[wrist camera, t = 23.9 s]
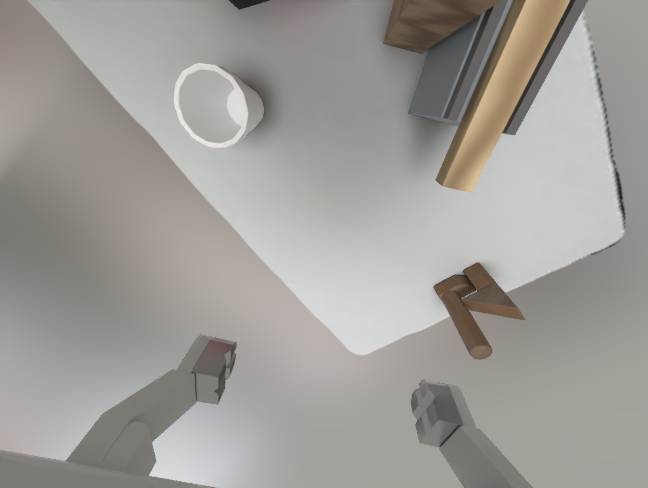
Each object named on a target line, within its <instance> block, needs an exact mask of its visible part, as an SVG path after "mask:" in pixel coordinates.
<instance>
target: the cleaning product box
mask: <svg viewBox="0 0 648 488" xmlns="http://www.w3.org/2000/svg"><path fill="white" fill-rule="evenodd" d="M229 1H230V2H231V3H233V4H234V5H235V6H236V7H237V8H238V9H239V10H240V9H243V8H246V7H249V6H253V5H256V4H259V3H262V2H266V1H269V0H229Z"/></svg>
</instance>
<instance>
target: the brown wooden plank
mask: <svg viewBox="0 0 648 488" xmlns="http://www.w3.org/2000/svg"><path fill="white" fill-rule="evenodd" d="M500 1H501V0H395V1H394V4H393V8H392V12H391V16H390V20H389V23H388V27H387V31H386V35H385V39H384V43H383V44H387V45H391V46H394V47H398V48H402V49H406V50H410V51H414V52H418V53H421V54H422V53H423V52H425V51H426V50H428V49H429V48H431V47H432V46H434V45H435V44H437V43H438V42H440V41H441V40H443V39H444V38H446V37H447V36H449V35H450V34H452V33H453V32H455V31H456V30H458V29H459V28H461V27H462V26H464V25H465V24H467V23H468V22H470V21H471V20H473V19H474V18H476V17H477V16H479V15H480V14H482V13H483V12H485V11H486V10H488V9H489V8H491V7H492V6H494V5H495V4H497V3H498V2H500Z"/></svg>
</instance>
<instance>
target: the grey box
mask: <svg viewBox="0 0 648 488" xmlns="http://www.w3.org/2000/svg"><path fill="white" fill-rule="evenodd" d="M587 1H588V0H570V2H569V4H568V6H567V8H566V10H565V12H564V14H563V16H562V17H561V19H560V21H559V23H558V25H557V27H556V29H555V31H554V33H553V35H552V37H551V39H550V41H549V43H548V45H547V47H546V49H545V50H544V52H543V54H542V56H541V58H540V60H539V62H538V64H537V66H536V68H535V70H534V72H533V74H532V76H531V78H530V80H529V82H528V83H527V85H526V87H525V89H524V91H523V93H522V95H521V97H520V99H519V101H518V103H517V105H516V107H515V109H514V111H513V113H512V115H511V116H510V118H509V120H508V122H507V124H506V126H505V128H504V130H503V132H502V133H504V134H510V135H515V134H516V132H517V130H518V128H519V127H520V125H521V123H522V121H523V119H524V117H525V116H526V114H527V112H528V110H529V108H530V106H531V104H532V103H533V101H534V99H535V97H536V95H537V93H538V92H539V90H540V88H541V86H542V84H543V82H544V81H545V79H546V77H547V75H548V73H549V71H550V69H551V68H552V66H553V64H554V62H555V60H556V58H557V57H558V55H559V53H560V51H561V49H562V47H563V46H564V44H565V42H566V40H567V38H568V36H569V34H570V33H571V31H572V29H573V27H574V25H575V23H576V22H577V20H578V18H579V16H580V14H581V12H582V11H583V9H584V7H585V5H586V3H587ZM512 2H513V0H501V1H500V2H498V3H497V4H495V5H494V6H492V7H491V8H489V9H488V10H486V11H485V12H483V13H482V14H480V15H479V16H477V17H476V18H474V19H473V20H471V21H470V22H468V23H467V24H465V25H464V26H462V27H461V28H459V29H458V30H456V31H455V32H453V33H452V34H450V35H449V36H447V37H446V38H444V39H443V40H441V41H440V42H438V43H437V44H435V45H434V46H432V47H431V48H430V51H429V54H428V57H427V60H426V63H425V66H424V68H423V71H422V74H421V77H420V80H419V83H418V86H417V89H416V92H415V95H414V98H413V101H412V104H411V107H410V110H409V113H408V114H412V115H416V116H420V117H424V118H428V119H432V120H436V121H440V122H444V123H448V124H453V125H458V126H459V125H460V122H461V120H462V118H463V115H464V113H465V111H466V108H467V106H468V104H469V101H470V99H471V97H472V94H473V92H474V90H475V88H476V85H477V83H478V81H479V78H480V76H481V74H482V71H483V69H484V67H485V64H486V62H487V60H488V57H489V55H490V53H491V51H492V48H493V46H494V44H495V41H496V39H497V37H498V34H499V32H500V30H501V27H502V25H503V23H504V20H505V18H506V16H507V14H508V11H509V9H510V7H511V4H512Z"/></svg>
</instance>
